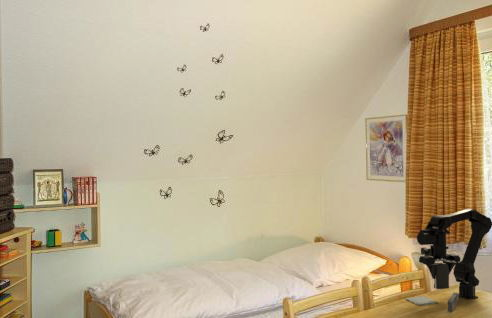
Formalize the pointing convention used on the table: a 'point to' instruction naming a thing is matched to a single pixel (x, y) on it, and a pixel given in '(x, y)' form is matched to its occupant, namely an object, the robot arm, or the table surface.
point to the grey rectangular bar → (452, 301)
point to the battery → (442, 276)
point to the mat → (421, 300)
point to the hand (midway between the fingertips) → (440, 278)
